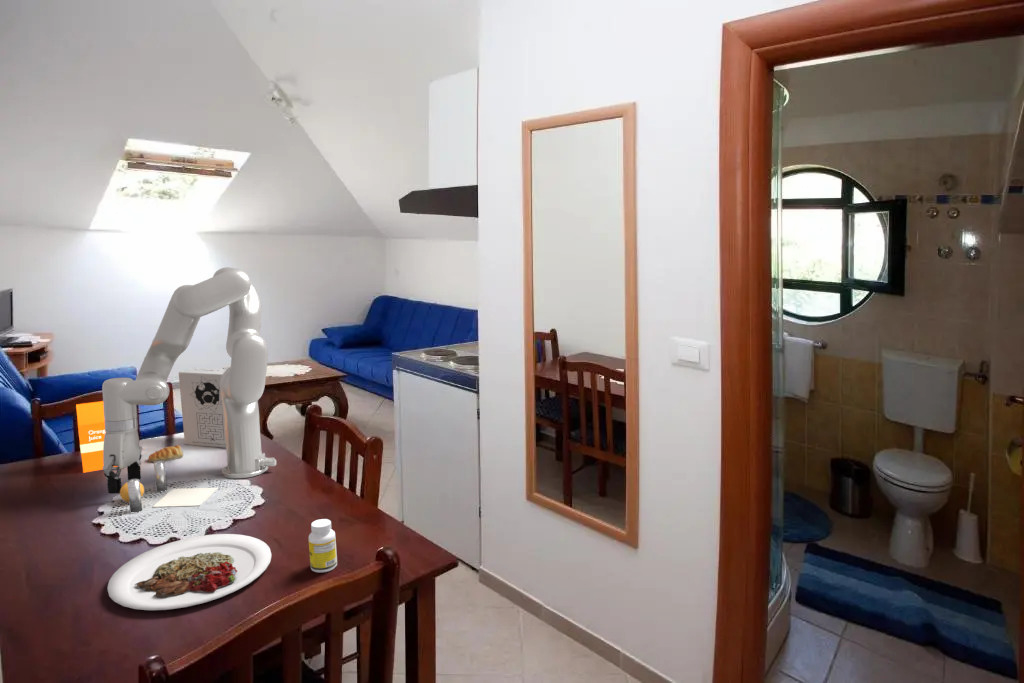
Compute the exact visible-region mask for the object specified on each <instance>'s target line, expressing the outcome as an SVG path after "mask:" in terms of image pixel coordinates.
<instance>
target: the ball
mask: <svg viewBox="0 0 1024 683" xmlns="http://www.w3.org/2000/svg"><path fill="white" fill-rule="evenodd" d="M140 492H141V498H142V497H143V495H144V493H145V486H144V485H143V483H141V482H140ZM119 496H120V498H121V499H122V500H123V501H124V502H127V503H129V493H128V484H127V482H125V483H123V485H121V489H120V493H119Z"/></svg>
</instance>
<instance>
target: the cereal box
mask: <svg viewBox="0 0 1024 683" xmlns="http://www.w3.org/2000/svg"><path fill="white" fill-rule="evenodd" d="M227 369H228V368H210V367H209V368H208V367H192V368H189V369H186V370H184V369H183V370H182V371H181V370H180V371H179V372H178V380H179V382H178V383H179V393H180V403H181V404H180V405H181V417H182V428H183V429H182V430H183V440H184V445H185V446H186V445H188V446H199V447H211V448H223V449H226V439H225V426H224V413H223V404H222V398H221V392H220V379H221V376H222V374H223V373H224V372H225V371H226V370H227Z"/></svg>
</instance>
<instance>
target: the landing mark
mask: <svg viewBox="0 0 1024 683" xmlns="http://www.w3.org/2000/svg"><path fill="white" fill-rule="evenodd" d="M218 489H219V487H194V488H193V487H191V488H172V489H171V490H170V491H169V492H167V493H166V494H165V495H164V496H163V497H162V498H161V499H160V500H158V501H157V502H156V503H154V505H152V506H151V508H178V507H185V508H187V507H201V506H202V505H203V504H204V503H205V502H206V501H207V500H208V499H209V498H210V497H211V496H212V495H213V494H214V493H215V492H216V491H218ZM204 501H205V502H204ZM203 502H204V503H203ZM202 503H203V504H202ZM201 504H202V505H201ZM200 505H201V506H200Z"/></svg>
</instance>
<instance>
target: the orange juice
mask: <svg viewBox="0 0 1024 683" xmlns="http://www.w3.org/2000/svg"><path fill="white" fill-rule="evenodd" d="M75 405H76V406H75V408H76V416H77V428H78V437H79V439H78V440H79V448H80V456H81V463H82V465H81V466H82V473H83V474H84V473H90V472H95V471H102V470H103V445H104V436H105V433H106V432H105V423H104V406H103V400H101V401H93V402H83V403H78V404H77V403H76V404H75ZM113 467H119V466H113Z"/></svg>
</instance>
